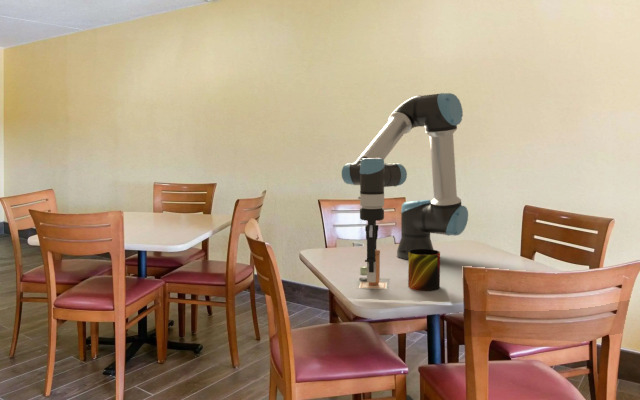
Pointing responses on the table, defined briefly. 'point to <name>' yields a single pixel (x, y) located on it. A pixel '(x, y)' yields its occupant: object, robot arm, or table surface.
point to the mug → (424, 270)
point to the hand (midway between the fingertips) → (371, 280)
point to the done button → (363, 270)
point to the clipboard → (365, 285)
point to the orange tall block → (377, 258)
